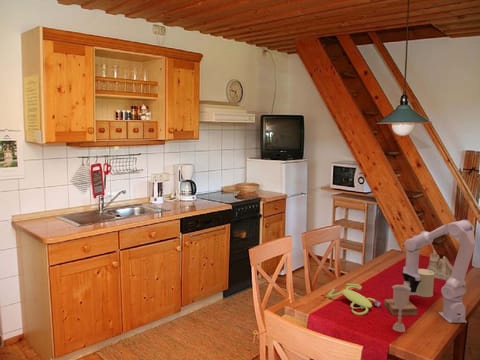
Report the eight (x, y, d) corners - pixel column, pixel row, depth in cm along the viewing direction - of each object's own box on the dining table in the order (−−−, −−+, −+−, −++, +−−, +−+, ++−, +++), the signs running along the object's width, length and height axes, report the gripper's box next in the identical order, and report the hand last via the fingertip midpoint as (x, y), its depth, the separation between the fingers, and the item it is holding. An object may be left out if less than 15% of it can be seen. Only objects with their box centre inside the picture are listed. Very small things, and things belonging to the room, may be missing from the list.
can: (435, 297, 211) (436, 274, 210) (415, 296, 213) (416, 273, 212) (430, 290, 220) (432, 268, 219) (411, 289, 222) (413, 267, 220)
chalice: (404, 325, 182) (406, 284, 180) (411, 332, 176) (413, 291, 173) (387, 325, 182) (389, 284, 180) (393, 332, 175) (396, 291, 173)
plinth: (417, 315, 192) (417, 308, 191) (393, 315, 191) (393, 309, 191) (406, 304, 203) (407, 298, 202) (383, 305, 202) (384, 299, 202)
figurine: (353, 290, 221) (353, 280, 221) (389, 310, 197) (390, 299, 196) (323, 295, 214) (323, 285, 213) (357, 317, 190) (358, 305, 189)
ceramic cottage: (449, 281, 233) (450, 254, 232) (420, 274, 245) (421, 249, 244) (461, 277, 243) (463, 251, 242) (433, 270, 255) (434, 246, 254)
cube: (417, 294, 204) (418, 284, 204) (407, 295, 204) (408, 285, 203) (413, 290, 209) (413, 281, 209) (403, 291, 209) (403, 281, 208)
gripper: (397, 258, 212) (396, 284, 213) (410, 267, 197) (409, 295, 199) (411, 258, 212) (410, 284, 214) (425, 267, 198) (423, 295, 199)
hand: (410, 289), depth 206 cm, fingers closed on cube, 5 cm apart
